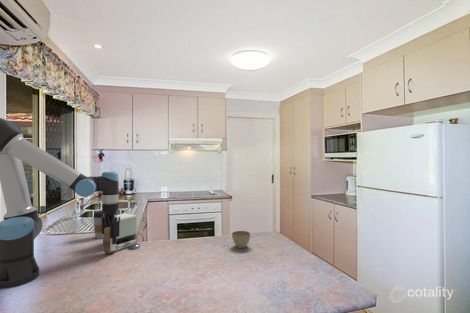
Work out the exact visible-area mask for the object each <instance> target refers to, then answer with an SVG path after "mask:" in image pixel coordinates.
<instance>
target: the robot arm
mask: <svg viewBox="0 0 470 313" xmlns="http://www.w3.org/2000/svg"><path fill="white" fill-rule="evenodd" d="M23 163H25V164H26V165H28V166H31V167H32V168H34V169H35V170H37V171H39V172H41V173H42V174H44V175H46V176H48V177H49V178H52V179H53V180H55V181H57V182H58V183H60V184H61V185H64V186H65V187H67V188H68V189H70V190H72V191H73V193H74V194H75V193H76V194H77V195H78V196H80V197H82V198H86V197H87V198H88V197H90V196H92V195H93V194H94V193H96V192H98V193H99V192H101V203H102V204H101V211H103V212H104V214H101V222H102V234H104V228H107V227H110V231H111V237H110V251H114V250H116V245H117V242H116V237H118V236H119V225H120V217H118V216H117V215H118V214H117V211H119V210H120V209H119V204H120V203H119V185H120V184H119V173H118V172H117V171H104V172H102V173H101V175H100V176H87V175H84V174H82V173H81V172H79V171H78V170H77V169H74V168H73V167H71V166H69V165H67V164H66V163H65V162H63V161H62V160H60V159H58V158H56V157H55V156H54V155H51V154H50V153H49V152H47V151H46V150H43V149H42V148H41V147H38V146H37V145H35V144H34V143H33V142H30V141H29V140H27V139H26V138H24V133H23V130H22V129H21V127H20V126H19V125H18V124H17V123H15V122H14V121H11V120H9V119H5V118H2V117H0V187H1V191H2V195H3V196H2V197H3V200H4V205H5V208H6V213H5V214H4V215H3V217H2V218H3V220H1V221H0V290H1V289H9V288H14V287H18V286H21V285H24V284H27V283H29V282H32V281H34V280H35V279H37V278H38V277H39V276H40V267H39V265H38V262H37V260H36V257H35V242H34V241H35V239H36V238H37V237H38V236H39V235H40V233H42V229H43V221H42V219H41V217H40V216H39V213H38V208H37V207H34V206H33V205H32V200H31V197H30V191H29V186H28V183H27V178H26V173H25V169H24V164H23ZM116 251H117V250H116Z"/></svg>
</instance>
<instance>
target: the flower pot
mask: <svg viewBox="0 0 470 313" xmlns="http://www.w3.org/2000/svg"><path fill="white" fill-rule="evenodd" d="M231 237H232V241H233V243H234V245H235V246H236V247H237V248H238V249H244V248H246V247H247V246H248V245H249V242H250V238H251V232H250V231H246V230H235V231H233V232H232V233H231Z"/></svg>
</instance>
